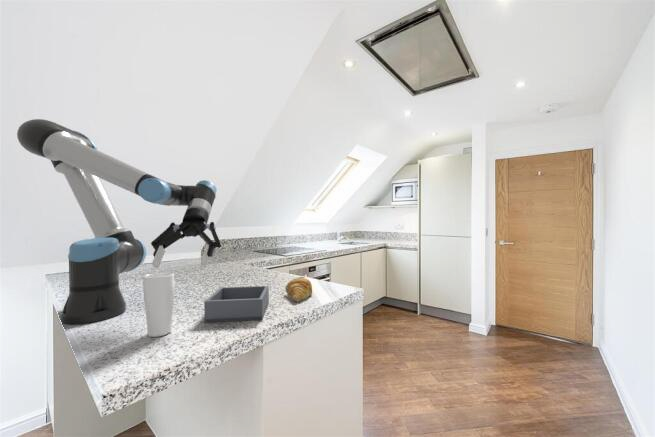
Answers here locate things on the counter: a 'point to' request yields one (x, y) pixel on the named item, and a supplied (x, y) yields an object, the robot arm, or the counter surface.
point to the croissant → (299, 289)
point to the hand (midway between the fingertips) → (179, 265)
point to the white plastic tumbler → (159, 303)
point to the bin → (237, 304)
